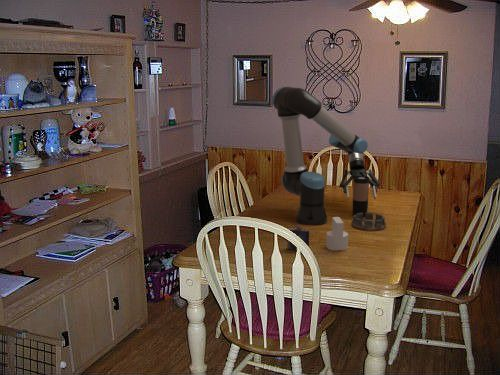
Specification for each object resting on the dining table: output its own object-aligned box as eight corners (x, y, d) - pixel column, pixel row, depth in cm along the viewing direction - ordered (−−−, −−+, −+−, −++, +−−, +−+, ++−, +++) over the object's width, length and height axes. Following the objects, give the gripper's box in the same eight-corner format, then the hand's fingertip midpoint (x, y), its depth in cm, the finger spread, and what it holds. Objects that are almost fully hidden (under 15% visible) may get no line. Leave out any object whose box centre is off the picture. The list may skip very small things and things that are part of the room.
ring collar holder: (367, 233, 251) (368, 223, 250) (344, 224, 265) (344, 215, 264) (393, 227, 260) (393, 218, 258) (369, 219, 273) (369, 210, 272)
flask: (286, 249, 231) (286, 225, 228) (288, 247, 233) (288, 223, 231) (308, 252, 228) (308, 227, 225) (309, 249, 231) (310, 225, 228)
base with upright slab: (324, 243, 238) (325, 217, 235) (345, 243, 238) (346, 216, 235) (328, 250, 229) (329, 223, 226) (349, 250, 229) (351, 223, 227)
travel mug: (357, 218, 274) (359, 179, 269) (349, 214, 281) (350, 176, 276) (370, 216, 277) (372, 178, 272) (361, 213, 284) (363, 175, 279)
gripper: (378, 166, 289) (384, 201, 278) (331, 167, 288) (335, 202, 277) (382, 158, 282) (388, 194, 271) (333, 159, 282) (337, 194, 271)
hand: (361, 198), depth 274 cm, fingers open, 13 cm apart
